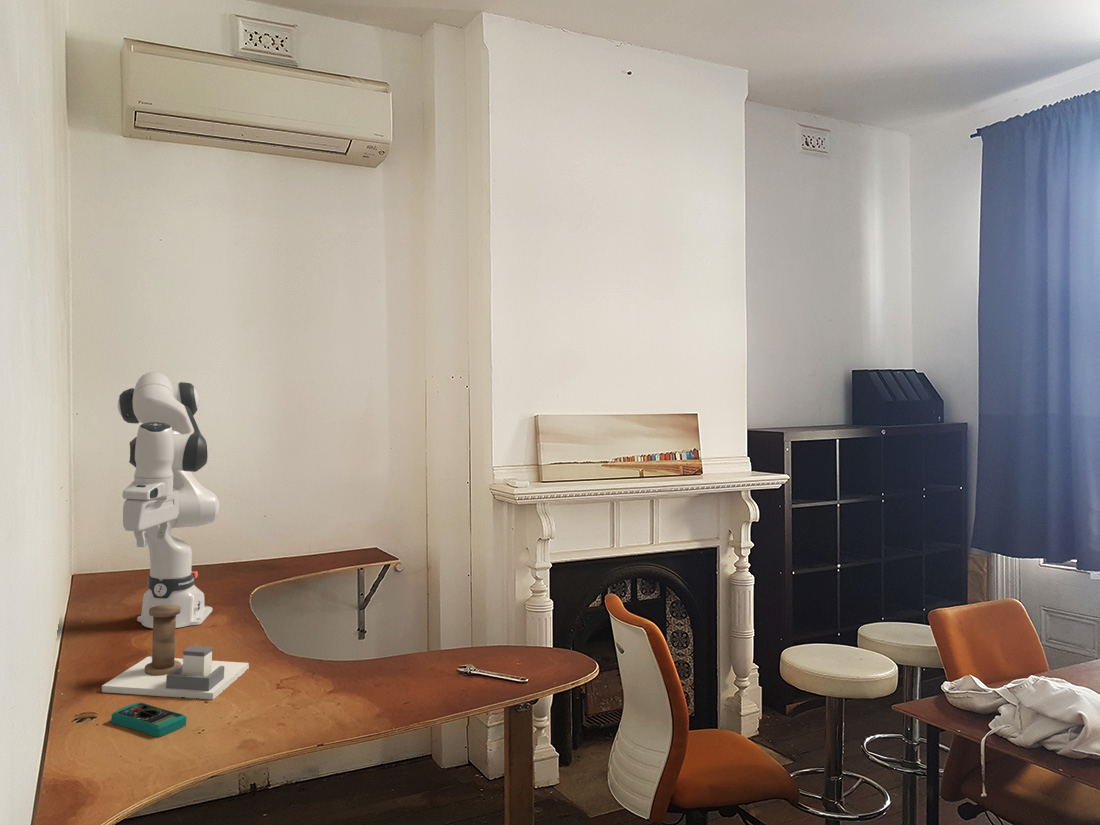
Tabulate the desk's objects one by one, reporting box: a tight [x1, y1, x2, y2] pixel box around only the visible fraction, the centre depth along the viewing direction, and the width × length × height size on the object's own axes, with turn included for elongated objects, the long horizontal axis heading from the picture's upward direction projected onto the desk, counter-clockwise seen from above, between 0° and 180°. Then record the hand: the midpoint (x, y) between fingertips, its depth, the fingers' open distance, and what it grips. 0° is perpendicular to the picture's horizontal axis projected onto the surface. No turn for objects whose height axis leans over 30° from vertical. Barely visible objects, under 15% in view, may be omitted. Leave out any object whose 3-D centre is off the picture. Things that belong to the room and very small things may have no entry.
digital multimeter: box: [110, 702, 187, 738], centre depth 172 cm, size 7×15×3 cm, turn 66°
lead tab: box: [182, 645, 213, 676], centre depth 192 cm, size 4×5×8 cm
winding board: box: [101, 656, 250, 701], centre depth 197 cm, size 20×26×4 cm
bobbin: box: [145, 605, 181, 676], centre depth 199 cm, size 8×8×15 cm
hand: (151, 542), depth 204 cm, fingers open, 8 cm apart
